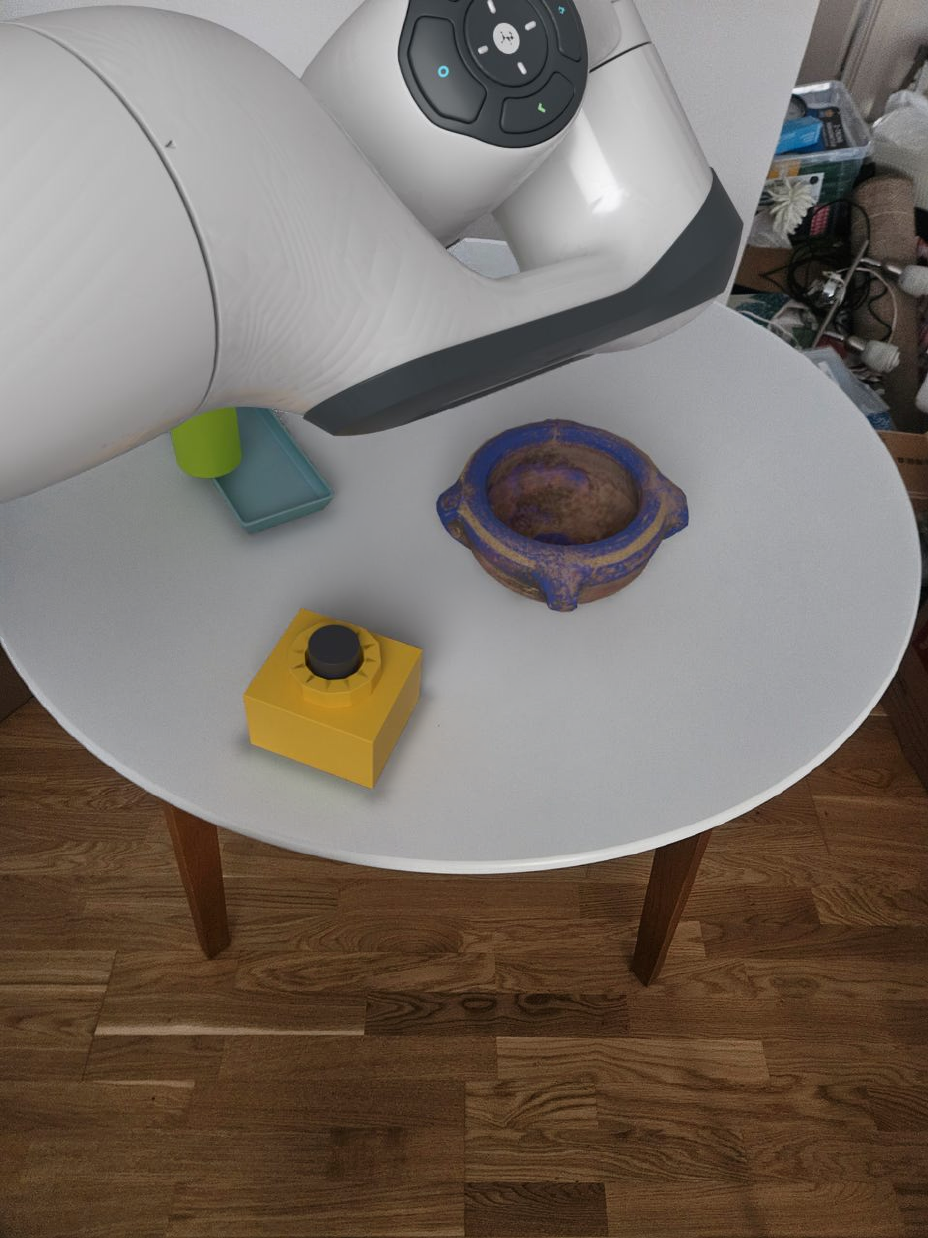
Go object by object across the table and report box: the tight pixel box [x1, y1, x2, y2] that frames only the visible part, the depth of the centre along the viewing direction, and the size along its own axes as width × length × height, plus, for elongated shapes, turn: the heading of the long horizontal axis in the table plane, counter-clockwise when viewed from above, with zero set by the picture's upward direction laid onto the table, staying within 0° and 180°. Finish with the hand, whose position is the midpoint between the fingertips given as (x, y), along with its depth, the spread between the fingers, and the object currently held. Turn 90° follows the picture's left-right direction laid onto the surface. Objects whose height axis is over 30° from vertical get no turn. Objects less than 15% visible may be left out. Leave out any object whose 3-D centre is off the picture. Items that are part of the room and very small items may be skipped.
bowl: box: [435, 418, 690, 613], centre depth 84 cm, size 18×18×10 cm
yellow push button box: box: [242, 607, 423, 790], centre depth 72 cm, size 10×9×8 cm
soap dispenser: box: [170, 407, 242, 479], centre depth 82 cm, size 6×7×20 cm
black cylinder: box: [308, 625, 360, 679], centre depth 68 cm, size 4×4×2 cm
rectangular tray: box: [210, 407, 336, 534], centre depth 94 cm, size 26×9×2 cm, turn 31°
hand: (226, 308), depth 58 cm, fingers open, 8 cm apart
